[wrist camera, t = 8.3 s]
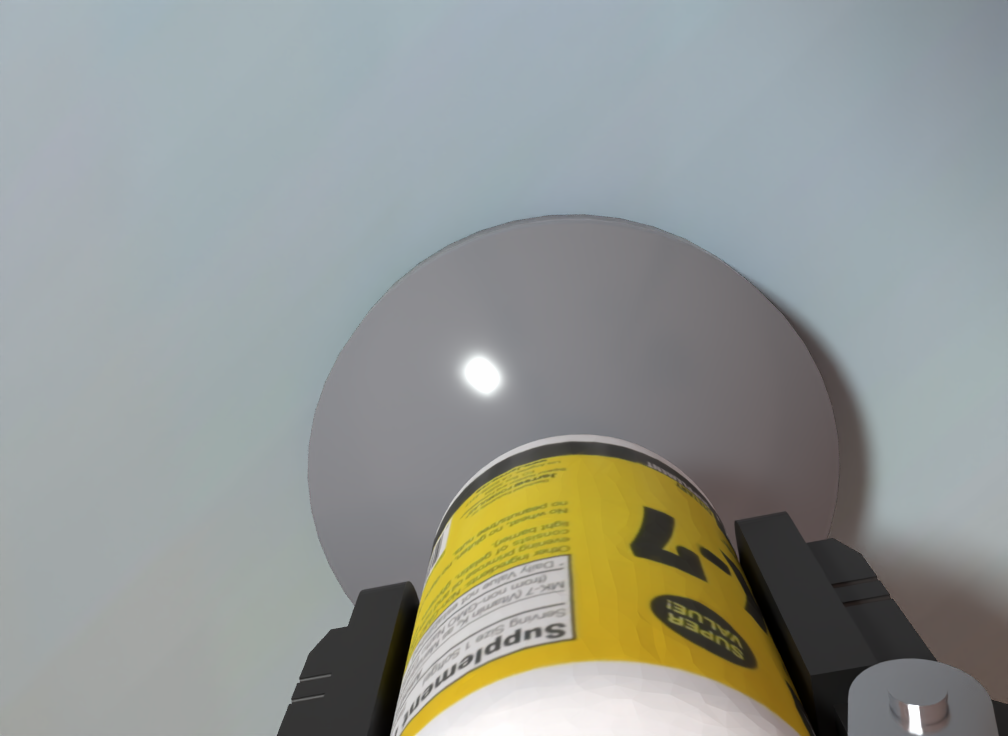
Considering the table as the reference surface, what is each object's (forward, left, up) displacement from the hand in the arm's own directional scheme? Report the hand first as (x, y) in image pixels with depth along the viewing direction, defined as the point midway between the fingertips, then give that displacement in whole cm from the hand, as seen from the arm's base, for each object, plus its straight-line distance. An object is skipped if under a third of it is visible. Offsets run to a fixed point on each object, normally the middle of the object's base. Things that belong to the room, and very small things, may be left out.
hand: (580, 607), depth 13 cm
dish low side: (0, 0, -5) cm, 5 cm away
